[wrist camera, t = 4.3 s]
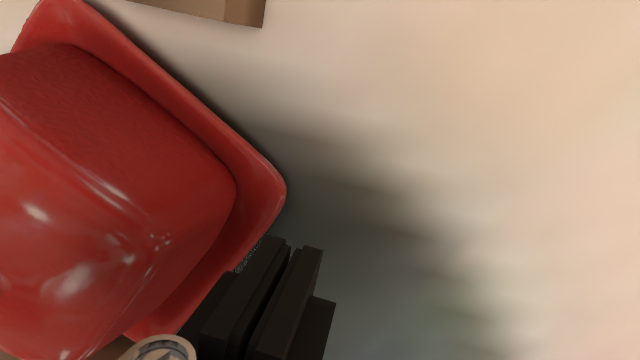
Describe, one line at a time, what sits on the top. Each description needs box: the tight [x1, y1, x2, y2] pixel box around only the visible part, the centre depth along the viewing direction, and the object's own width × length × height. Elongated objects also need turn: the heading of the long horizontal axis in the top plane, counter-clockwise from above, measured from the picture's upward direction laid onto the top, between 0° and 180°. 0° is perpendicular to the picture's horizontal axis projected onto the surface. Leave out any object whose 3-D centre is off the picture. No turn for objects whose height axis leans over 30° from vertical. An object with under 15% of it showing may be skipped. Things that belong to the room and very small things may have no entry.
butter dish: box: [0, 0, 287, 360], centre depth 12 cm, size 12×12×8 cm
